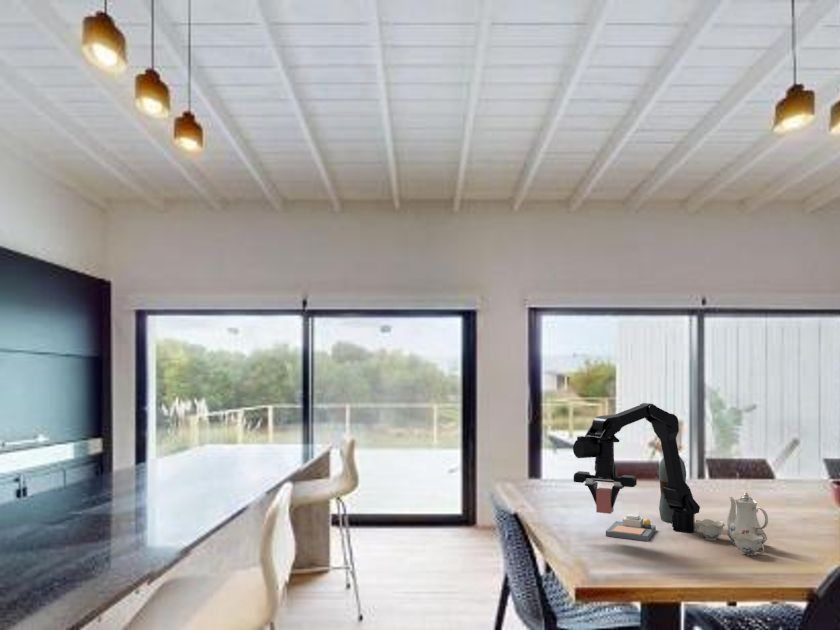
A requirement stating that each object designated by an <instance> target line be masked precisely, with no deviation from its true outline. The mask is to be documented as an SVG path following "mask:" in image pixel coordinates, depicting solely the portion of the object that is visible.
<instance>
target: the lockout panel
mask: <svg viewBox="0 0 840 630" xmlns="http://www.w3.org/2000/svg"><path fill="white" fill-rule="evenodd" d="M626 516H627V515H625V517H623V519H622V521H618V520H616V521H614V522H613V523H612V525H610V526H609V527H608V528H607V529H606V530H605V537H610V538H611V537H612V538H620V539H629V540H636V541H645V542H648V541H649V540H650V539H651V537H652V535H653V534H654V533H655V531H657V529H656V525H654V524H653V525H652V524H651V519H649V518H644V517H641V516H640V520H639V521H638V520H629V519H626Z"/></svg>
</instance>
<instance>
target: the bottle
mask: <svg viewBox="0 0 840 630" xmlns="http://www.w3.org/2000/svg"><path fill="white" fill-rule="evenodd" d="M679 458H680V463H681V468H682V473H683V479H684V481H685V482H686V481H687V470H686V465H685V462H684V460H683V459H682V457H681V455H679ZM658 466H659V467H658V478H659V489H660V498H659V505H658V507H659V508H658V509H659V516H660V517H659V518H660V520H661V521H662V522H665V523H671V524H672V515H673V514H674V510H672V509H670V508H669V505H668V503H667V501H666V499H664V497H665V496H664V491H663V488H664V487H666V486H667V484H668V477H667V472H666V467H665V461H664V456H663V457H662V459H661V461H660V462H659V465H658ZM686 483H687V482H686Z"/></svg>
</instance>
